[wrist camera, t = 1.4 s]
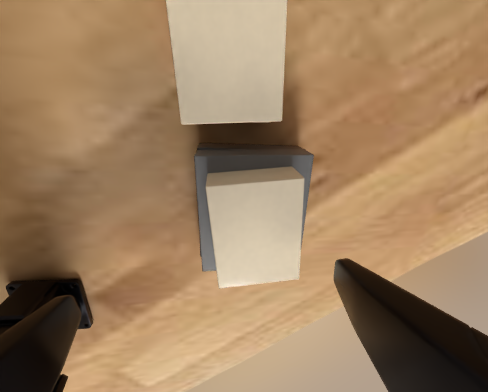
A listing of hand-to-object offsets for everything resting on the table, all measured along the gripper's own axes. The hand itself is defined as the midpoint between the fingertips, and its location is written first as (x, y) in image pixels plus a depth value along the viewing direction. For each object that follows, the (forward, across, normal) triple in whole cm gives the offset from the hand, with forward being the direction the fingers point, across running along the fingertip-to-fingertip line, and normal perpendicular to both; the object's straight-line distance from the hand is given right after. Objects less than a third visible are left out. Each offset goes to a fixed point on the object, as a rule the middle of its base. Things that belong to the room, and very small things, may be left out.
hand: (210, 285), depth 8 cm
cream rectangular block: (+9, -2, +3) cm, 10 cm away
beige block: (+13, -2, -8) cm, 16 cm away
